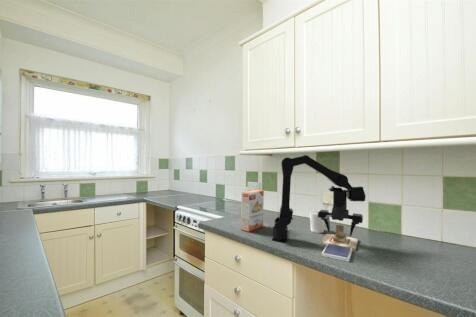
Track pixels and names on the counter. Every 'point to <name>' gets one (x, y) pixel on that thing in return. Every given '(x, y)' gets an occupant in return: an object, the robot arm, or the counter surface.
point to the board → (348, 243)
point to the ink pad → (337, 252)
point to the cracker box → (252, 210)
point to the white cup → (316, 222)
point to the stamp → (339, 234)
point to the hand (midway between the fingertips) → (339, 234)
